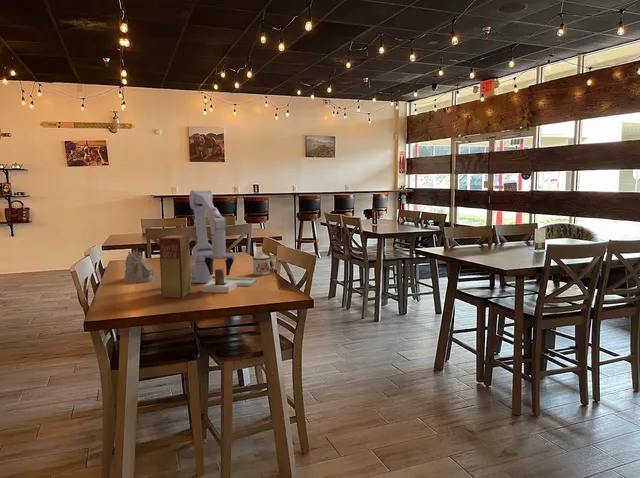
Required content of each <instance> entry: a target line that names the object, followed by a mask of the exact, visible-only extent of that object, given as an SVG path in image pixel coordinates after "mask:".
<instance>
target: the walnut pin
mask: <svg viewBox="0 0 640 478" xmlns="http://www.w3.org/2000/svg"><path fill="white" fill-rule="evenodd" d="M224 278H225V269H223V268H216V269H214V279H215V280H214V281H215V285H224Z"/></svg>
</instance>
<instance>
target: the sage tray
mask: <svg viewBox="0 0 640 478" xmlns="http://www.w3.org/2000/svg"><path fill="white" fill-rule="evenodd" d="M224 281H235V282H237V287H252V286H253V285H254V284H255V283H257V281H258V278H257V277H226V276H224Z"/></svg>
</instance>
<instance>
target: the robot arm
mask: <svg viewBox="0 0 640 478" xmlns="http://www.w3.org/2000/svg"><path fill="white" fill-rule="evenodd" d="M213 195H214V194H213V192H212V190H193V189H192V190H191V191H189V197H188V198H189V207H190V209H192V210H193V215H194V220H195V221H194V222H195V229H196V230H195V232H196V240H197V241H196V242H197V244H195V246H193V247H192V255H191V256H192V261H193V263H192V264H191V265H190V270H191V284H192V283H193V284H194V283H195V284H198V283H199V284H200V283H201V284H202V283H203V284H207V283H209V282H210V281H215V278H213V274H214V269H213V268H214V261H216V260H224V261H225V266H226V267H225V268H226V271H225V272H226V276H230V273H231V270H232V269H231V268H232V265H233V263H234V261H235V260H236V257H237V256H236V254H231V253H230V254H229V253H227V252H226V249H227V248H226V230H227V229H228V220H227V218H226V217H225V216H222V215H221V213H220V211H219V209H218V208H217V207H215V206H214V203H213V200H214V199H213V198H214V196H213ZM206 218H207V219H208V222H209V228H210V235H211V236H212V237H211V238H212V239H211V244H210V242H209V240H208V231H207V230H208V229H207V222H206Z"/></svg>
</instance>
